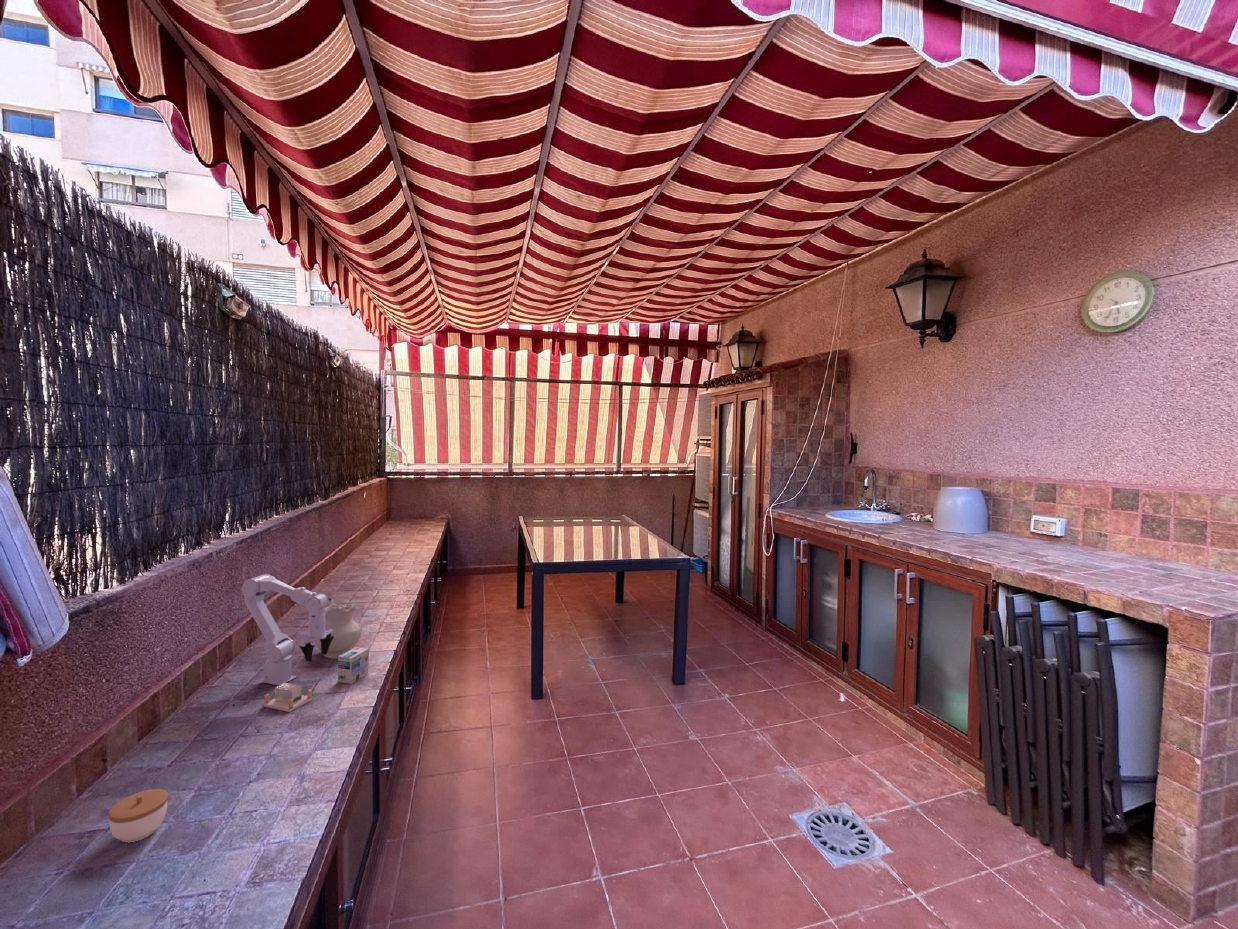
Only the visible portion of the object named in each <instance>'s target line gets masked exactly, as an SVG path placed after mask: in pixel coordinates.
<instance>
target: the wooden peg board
mask: <svg viewBox="0 0 1238 929" xmlns="http://www.w3.org/2000/svg"><path fill="white" fill-rule="evenodd" d="M312 692H313V691H312V689H307V690H306V695H305V694H304V695H303V694H302V700H300V701H298V702H297V703H295V704H293V699H289V704H285V703H280V702H276V701H275V698H272V699H270V695H271V694H270V693H267V694H265V695H264V703H263V706H264V708H265V707H266V708H270V709H275V710H279V711H283V712H287V713H288V712H289V713H291V712H292V711H294V710H296V709H298V708H300V707H301V706H303V705H305V704H307V703H309V702H311V701H312V700H313V695H312Z"/></svg>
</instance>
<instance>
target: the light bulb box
mask: <svg viewBox="0 0 1238 929" xmlns="http://www.w3.org/2000/svg"><path fill="white" fill-rule="evenodd" d="M350 649H351V650H350V651H348V652H346V653H344V654H342V655H340V656H338V659H337V682H338V683H343V684H351V685H352V684H353V683H355V682H357V681H358V680H360V679H362V678H363V677H365V676H367V675H369V663H370V662H369V659H370V656H369V655H370V649H369V648H366V647H359V646H358V647H357V646H354V647H353V648H350Z"/></svg>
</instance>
